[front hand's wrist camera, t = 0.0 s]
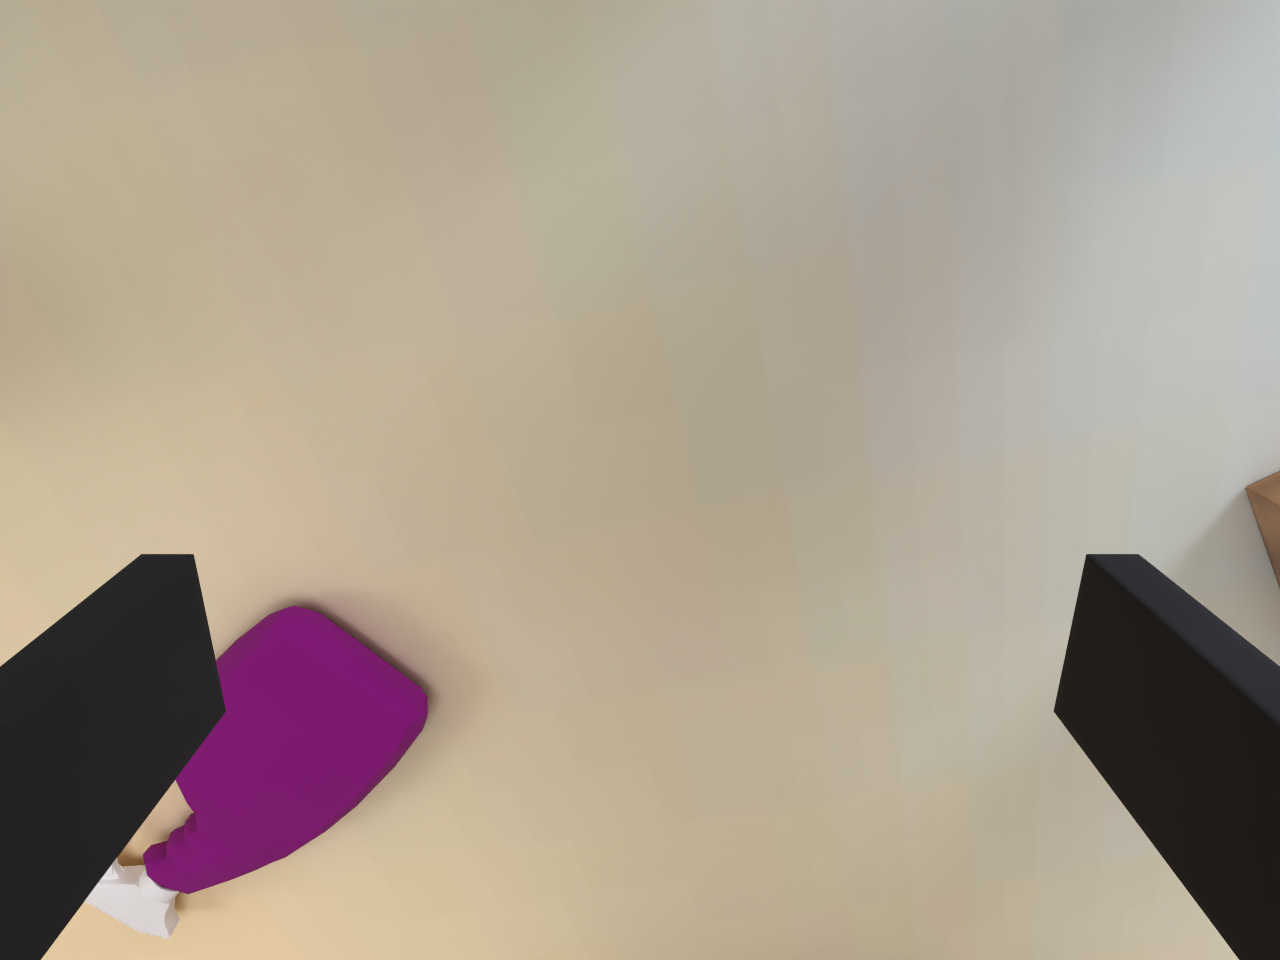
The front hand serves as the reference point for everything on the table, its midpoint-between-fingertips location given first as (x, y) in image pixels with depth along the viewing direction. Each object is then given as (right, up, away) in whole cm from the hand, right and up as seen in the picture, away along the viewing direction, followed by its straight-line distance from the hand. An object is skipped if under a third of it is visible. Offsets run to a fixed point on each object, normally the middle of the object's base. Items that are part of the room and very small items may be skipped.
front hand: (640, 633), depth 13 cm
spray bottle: (-23, -14, +36) cm, 45 cm away
